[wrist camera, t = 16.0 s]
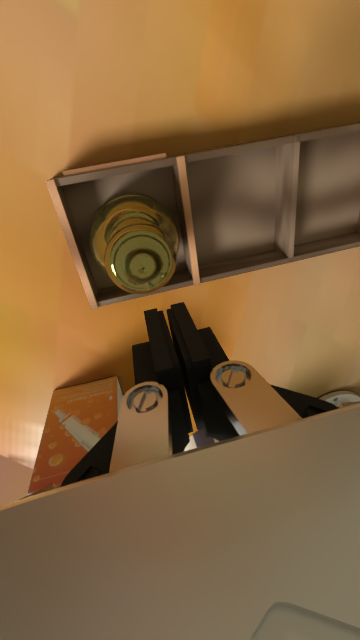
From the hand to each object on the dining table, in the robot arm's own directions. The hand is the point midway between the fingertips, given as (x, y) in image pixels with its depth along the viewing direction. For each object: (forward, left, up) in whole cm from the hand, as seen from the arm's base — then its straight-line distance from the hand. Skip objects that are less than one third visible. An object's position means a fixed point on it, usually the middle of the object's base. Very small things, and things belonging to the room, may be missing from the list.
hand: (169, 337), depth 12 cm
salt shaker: (0, 0, -18) cm, 18 cm away
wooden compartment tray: (0, -10, -19) cm, 21 cm away
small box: (-20, +10, -19) cm, 29 cm away
